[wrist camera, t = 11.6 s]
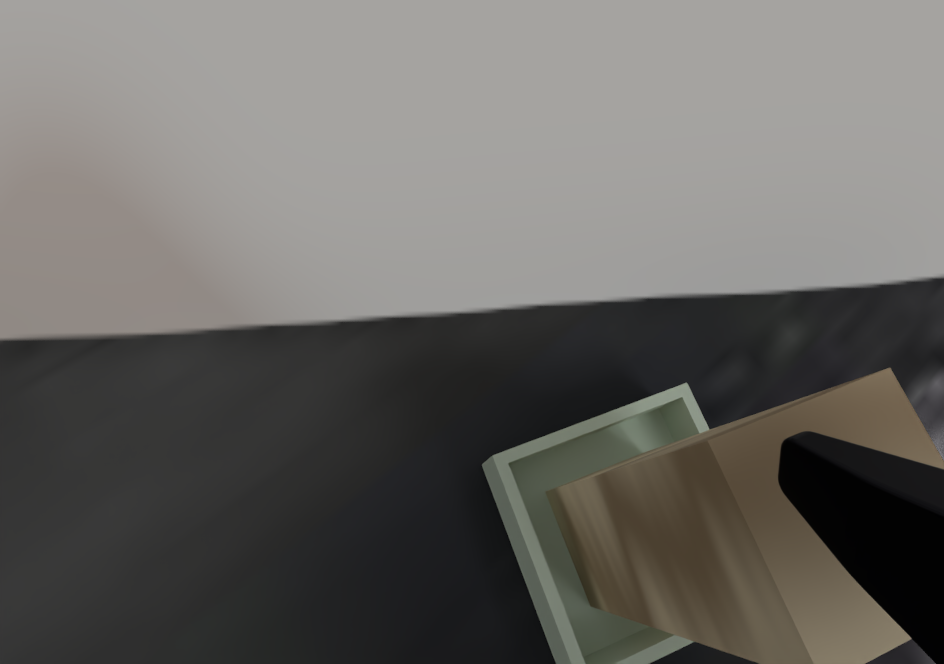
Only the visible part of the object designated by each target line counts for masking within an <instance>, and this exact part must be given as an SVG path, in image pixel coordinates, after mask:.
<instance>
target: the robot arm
mask: <svg viewBox="0 0 944 664" xmlns="http://www.w3.org/2000/svg"><path fill="white" fill-rule="evenodd" d="M778 483H779V486H780V488H781V490H782V492H783V493H784V495H785V496H786V497H787V499H788V500H789V501H790V502H791V503H792V505H793V506H794V507H795V508H796V510H797V511H798V512H799V513H800V515H801V516H802V517H803V518H804V519H805V521H806V522H807V523H808V524H809V526H810V527H811V528H812V529H813V531H814V532H815V533H816V534H817V535H818V537H819V538H820V539H821V540H822V542H823V543H824V544H825V545H826V546H827V548H828V549H829V550H830V551H831V553H832V554H833V555H834V556H835V558H836V559H837V560H838V561H839V562H840V564H841V565H842V566H843V567H844V568H845V569H846V571H847V572H848V573H849V574H850V575H851V576H852V577H853V578H854V580H855V581H856V582H857V583H858V584H859V585H860V586H861V587H862V588H863V589H864V590H865V591H866V592H867V593H868V594H869V595H870V596H871V597H872V598H873V599H874V600H875V601H876V602H877V603H878V605H879V606H880V607H881V608H882V609H883V610H884V611H885V612H886V613H887V614H888V615H889V616H890V617H891V618H892V619H893V620H894V621H895V622H896V623H897V624H898V625H899V626H900V627H901V628H902V629H903V630H904V631H905V632H906V633H907V634H908V635H909V636H910V637H911V638H912V639H913V640H914V641H915V642H916V643H917V644H918V646H919V647H920V648H921V649H922V650H923V651H924V652H925V653H926V654H927V655H928V656H929V657H930V658H931V659H932V660H933V661H934V662H935V663H936V664H944V469H941V468H938V467H934V466H931V465H927V464H924V463H920V462H917V461H913V460H910V459H906V458H903V457H900V456H896V455H893V454H889V453H886V452H882V451H879V450H875V449H872V448H868V447H865V446H861V445H858V444H854V443H851V442H847V441H844V440H840V439H837V438H833V437H830V436H826V435H823V434H819V433H816V432H812V431H803V432H800V433H798V434H795V435H793V436H791V437H788V438H786V439H785V440H784V441H783V442H782V444H781V448H780V458H779V468H778Z"/></svg>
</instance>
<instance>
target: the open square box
mask: <svg viewBox="0 0 944 664" xmlns="http://www.w3.org/2000/svg"><path fill="white" fill-rule="evenodd" d="M708 430H709V428H708V425H707V423H706V421H705V419H704V417H703V415H702V413H701V411H700V409H699V407H698V405H697V402H696V400H695V398H694V396H693V394H692V392H691V390H690V388H689V386H688V384H687V383H685V384H682V385H679V386H677V387H674V388H671V389H669V390H666V391H663V392H661V393H658V394H655V395H653V396H650V397H647V398H645V399H642V400H639V401H637V402H634V403H631V404H629V405H626V406H623V407H621V408H618V409H615V410H613V411H610V412H607V413H605V414H602V415H599V416H597V417H594V418H591V419H589V420H586V421H583V422H581V423H578V424H575V425H573V426H570V427H567V428H565V429H562V430H559V431H557V432H554V433H551V434H549V435H546V436H543V437H541V438H538V439H535V440H533V441H530V442H527V443H525V444H522V445H519V446H517V447H514V448H511V449H509V450H506V451H503V452H501V453H498V454H495V455H493V456H491V457H490V458H489V459H488V460H486V461H485V462H484V463H483V464H482V467H483V470H484V473H485V475H486V478H487V481H488V483H489V486H490V489H491V491H492V494H493V497H494V499H495V502H496V505H497V507H498V510H499V513H500V515H501V518H502V521H503V524H504V526H505V529H506V532H507V534H508V537H509V540H510V542H511V545H512V548H513V550H514V553H515V556H516V558H517V561H518V564H519V566H520V569H521V572H522V574H523V577H524V580H525V582H526V585H527V588H528V590H529V593H530V596H531V598H532V601H533V604H534V607H535V609H536V612H537V615H538V617H539V620H540V623H541V625H542V628H543V631H544V633H545V636H546V639H547V641H548V644H549V647H550V649H551V652H552V655H553V657H554V660H555V663H556V664H650V663H652V662H654V661H656V660H658V659H660V658H662V657H664V656H666V655H668V654H670V653H672V652H674V651H676V650H678V649H681V648H683V647H685V646H687V645H689V644H691V643H693V642H694V641H691V640H688V639H685V638H682V637H679V636H676V635H674V634H671V633H668V632H665V631H662V630H659V629H656V628H653V627H650V626H647V625H644V624H641V623H638V622H635V621H632V620H629V619H626V618H623V617H620V616H617V615H614V614H611V613H609V612H606V611H603V610H600V609H597V608H594V607H591V606H590V604H589V601H588V599H587V596H586V594H585V591H584V589H583V586H582V584H581V581H580V579H579V576H578V574H577V571H576V569H575V566H574V563H573V561H572V558H571V556H570V553H569V551H568V548H567V546H566V543H565V541H564V538H563V536H562V533H561V531H560V528H559V526H558V523H557V521H556V518H555V515H554V513H553V510H552V508H551V505H550V503H549V500H548V498H547V495H546V493H545V491H548V490H551V489H553V488H556V487H558V486H561V485H563V484H566V483H568V482H571V481H573V480H576V479H578V478H581V477H583V476H586V475H588V474H591V473H593V472H596V471H598V470H601V469H604V468H606V467H609V466H611V465H614V464H616V463H619V462H621V461H624V460H626V459H629V458H631V457H634V456H636V455H639V454H641V453H644V452H647V451H650V450H653V449H656V448H658V447H661V446H664V445H667V444H670V443H673V442H676V441H679V440H682V439H685V438H687V437H690V436H693V435H696V434H699V433H702V432H705V431H708Z"/></svg>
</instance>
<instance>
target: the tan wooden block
mask: <svg viewBox="0 0 944 664" xmlns="http://www.w3.org/2000/svg"><path fill="white" fill-rule="evenodd" d="M803 431H812V432H816V433H819V434H823V435H826V436H830V437H833V438H837V439H840V440H844V441H847V442H851V443H854V444H858V445H861V446H865V447H868V448H872V449H875V450H879V451H882V452H886V453H889V454H893V455H896V456H900V457H903V458H906V459H910V460H913V461H917V462H920V463H924V464H927V465H931V466H934V467H938V468H941V469H944V461H943V459H942V457H941V456H940V454H939V452H938V450H937V449H936V447H935V445H934V443H933V442H932V440H931V438H930V436H929V435H928V433H927V431H926V430H925V428H924V426H923V424H922V423H921V421H920V419H919V417H918V416H917V414H916V412H915V410H914V409H913V407H912V405H911V403H910V402H909V400H908V398H907V396H906V395H905V393H904V391H903V389H902V388H901V386H900V384H899V382H898V381H897V379H896V377H895V375H894V374H893V372H892V370H891V368H887V369H884V370H882V371H879V372H876V373H873V374H870V375H867V376H864V377H861V378H858V379H855V380H853V381H850V382H847V383H844V384H841V385H838V386H835V387H832V388H829V389H827V390H824V391H821V392H818V393H815V394H812V395H809V396H806V397H803V398H800V399H798V400H795V401H792V402H789V403H786V404H783V405H780V406H777V407H774V408H771V409H769V410H766V411H763V412H760V413H757V414H754V415H751V416H748V417H745V418H743V419H740V420H737V421H734V422H731V423H728V424H725V425H722V426H719V427H716V428H714V429H711V430H708V431H705V432H702V433H699V434H696V435H693V436H690V437H687V438H685V439H682V440H679V441H676V442H673V443H670V444H667V445H664V446H661V447H658V448H656V449H653V450H650V451H647V452H644V453H641V454H639V455H636V456H634V457H631V458H629V459H626V460H624V461H621V462H619V463H616V464H614V465H611V466H609V467H606V468H604V469H601V470H598V471H596V472H593V473H591V474H588V475H586V476H583V477H581V478H578V479H576V480H573V481H571V482H568V483H566V484H563V485H561V486H558V487H556V488H553V489H551V490H548V491H545V493H546V495H547V498H548V500H549V503H550V505H551V508H552V510H553V513H554V515H555V518H556V521H557V523H558V526H559V528H560V531H561V533H562V536H563V538H564V541H565V543H566V546H567V548H568V551H569V553H570V556H571V558H572V561H573V563H574V566H575V569H576V571H577V574H578V576H579V579H580V581H581V584H582V586H583V589H584V591H585V594H586V596H587V599H588V601H589V604H590V606H591V607H594V608H597V609H600V610H603V611H606V612H609V613H611V614H614V615H617V616H620V617H623V618H626V619H629V620H632V621H635V622H638V623H641V624H644V625H647V626H650V627H653V628H656V629H659V630H662V631H665V632H668V633H671V634H674V635H676V636H679V637H682V638H685V639H688V640H691V641H694V642H697V643H700V644H703V645H706V646H709V647H712V648H715V649H718V650H721V651H724V652H727V653H730V654H733V655H736V656H739V657H742V658H744V659H747V660H750V661H753V662H756V663H759V664H865V663H867V662H869V661H871V660H873V659H875V658H877V657H878V656H880V655H882V654H884V653H886V652H888V651H890V650H892V649H894V648H895V647H897V646H899V645H901V644H903V643H905V642H907V641H909V640H910V639H912V638H911V637H910V636H909V635H908V634H907V633H906V632H905V631H904V630H903V629H902V628H901V627H900V626H899V625H898V624H897V623H896V622H895V621H894V620H893V619H892V618H891V617H890V616H889V615H888V614H887V613H886V612H885V611H884V610H883V609H882V608H881V607H880V606H879V605H878V603H877V602H876V601H875V600H874V599H873V598H872V597H871V596H870V595H869V594H868V593H867V592H866V591H865V590H864V589H863V588H862V587H861V586H860V585H859V584H858V583H857V582H856V581H855V580H854V578H853V577H852V576H851V575H850V574H849V573H848V572H847V571H846V569H845V568H844V567H843V566H842V565H841V564H840V562H839V561H838V560H837V559H836V558H835V556H834V555H833V554H832V553H831V551H830V550H829V549H828V548H827V546H826V545H825V544H824V543H823V542H822V540H821V539H820V538H819V537H818V535H817V534H816V533H815V532H814V531H813V529H812V528H811V527H810V526H809V524H808V523H807V522H806V521H805V519H804V518H803V517H802V516H801V515H800V513H799V512H798V511H797V510H796V508H795V507H794V506H793V505H792V503H791V502H790V501H789V500H788V499H787V497H786V496H785V495H784V493H783V492H782V490H781V488H780V486H779V483H778V468H779V458H780V448H781V444H782V442H783V441H784V440H785V439H786V438H788V437H791V436H793V435H795V434H798V433H800V432H803Z"/></svg>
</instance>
